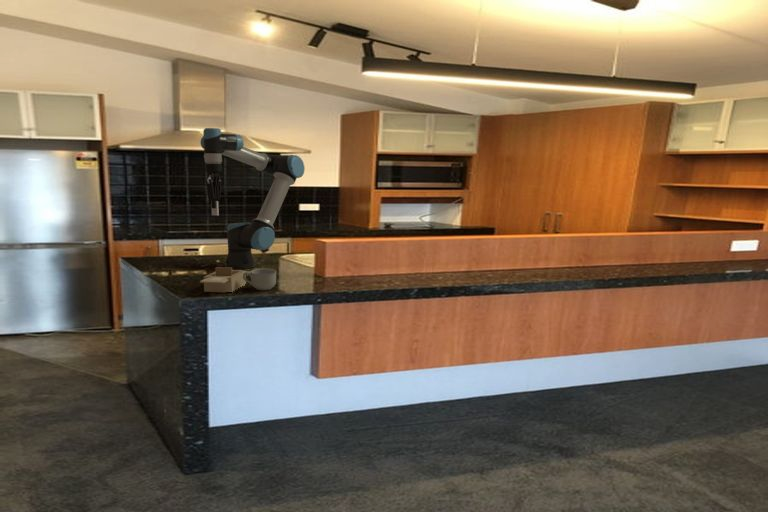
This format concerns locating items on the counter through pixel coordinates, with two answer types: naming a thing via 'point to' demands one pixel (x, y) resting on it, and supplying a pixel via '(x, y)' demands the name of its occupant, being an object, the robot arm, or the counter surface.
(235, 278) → the box
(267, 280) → the teacup
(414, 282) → the counter surface
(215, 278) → the lid
